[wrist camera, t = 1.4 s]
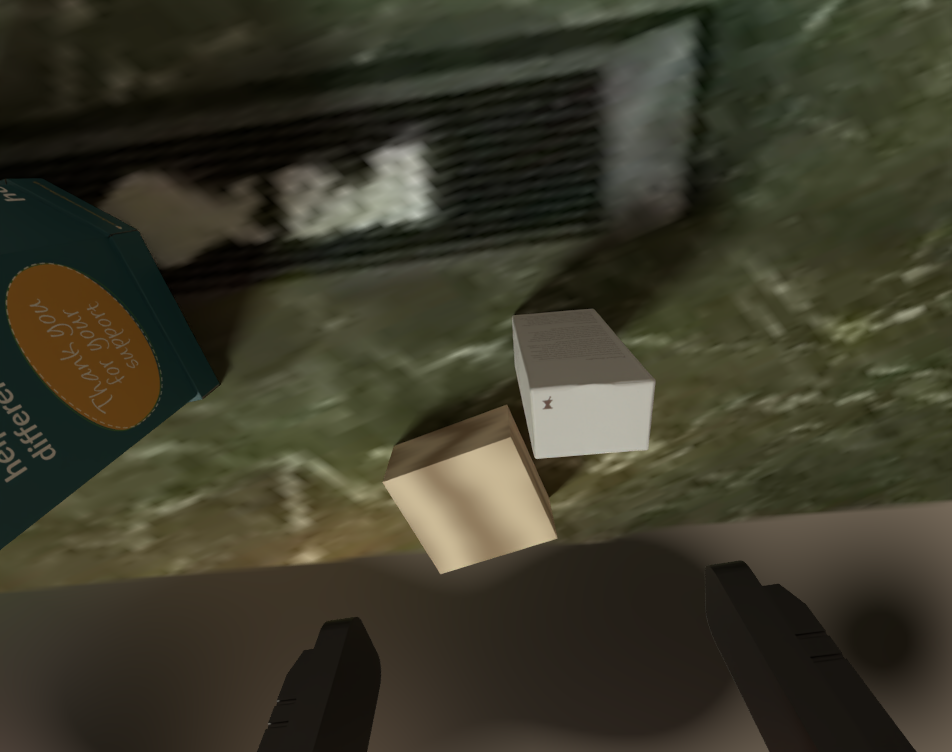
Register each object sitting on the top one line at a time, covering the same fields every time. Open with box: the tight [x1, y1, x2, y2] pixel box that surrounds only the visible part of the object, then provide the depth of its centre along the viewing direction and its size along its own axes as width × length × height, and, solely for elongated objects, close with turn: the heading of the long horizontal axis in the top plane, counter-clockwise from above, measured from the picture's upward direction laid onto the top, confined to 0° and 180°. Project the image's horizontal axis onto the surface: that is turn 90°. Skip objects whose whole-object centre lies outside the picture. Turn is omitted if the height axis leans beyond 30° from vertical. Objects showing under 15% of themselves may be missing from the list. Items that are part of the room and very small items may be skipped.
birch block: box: [383, 405, 557, 574], centre depth 36 cm, size 10×10×5 cm
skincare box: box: [512, 309, 655, 459], centre depth 27 cm, size 6×4×12 cm
